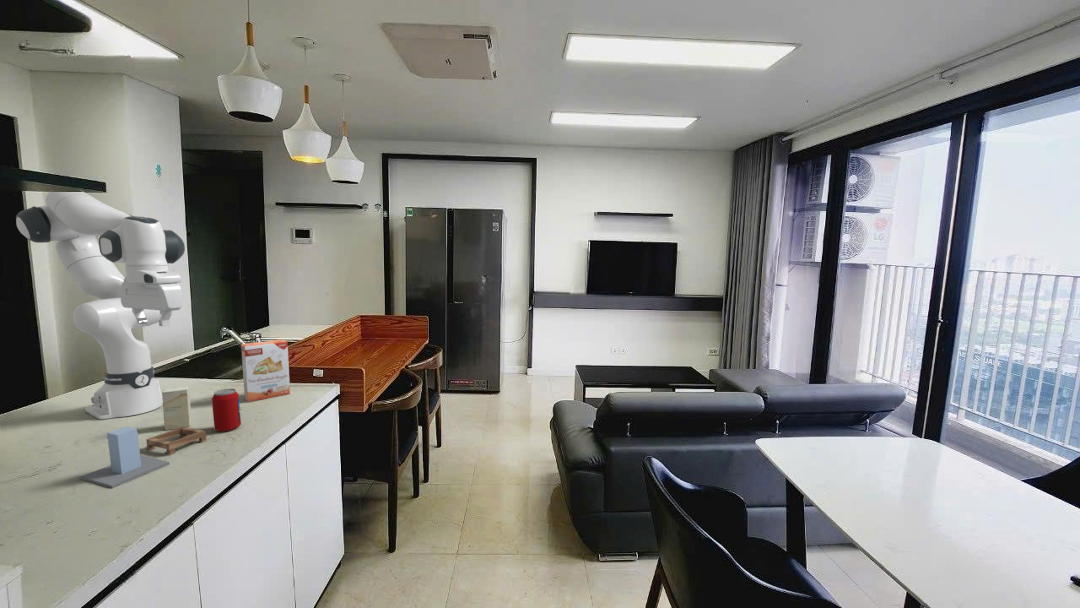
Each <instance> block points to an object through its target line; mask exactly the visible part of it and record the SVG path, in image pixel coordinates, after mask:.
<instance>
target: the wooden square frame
mask: <svg viewBox="0 0 1080 608" xmlns="http://www.w3.org/2000/svg"><path fill="white" fill-rule="evenodd" d="M206 434H207V432H206V430H202V429H198V428H197V429H196V428H193V427H184V426H183V427H180V428H177V429H171V430H169V431H166V432H164V433H160V434H157V435H155V436H152V437H149V438H146V439H145V441H146V448H147V449H146V450H147V451H152V450H154V449H156V448H160V449H163V450H164V449H165V450H166V455H168V456H172V455H174V454H175V453H176V450H175V449H176V448H179V447H181V446H184V445H185V444H188V443H191V442H194V441H196V440H198V442H199V443H204V442H207V435H206ZM176 436H179V439H176V440H173V441H167V439H170V438H173V437H176Z"/></svg>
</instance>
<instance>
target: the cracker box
mask: <svg viewBox="0 0 1080 608" xmlns="http://www.w3.org/2000/svg"><path fill="white" fill-rule="evenodd" d="M288 345H289V344H288V341H286V340H285V339H275V340H267V341H258V342H251V343H249V342H248V343H242V344H241V346H240V347H241V360H242V361H241V362H242V372H243V373H242V378H243V390H244V399H245V400H246V401H247V402H249V403H251V402H254V401H259V400H265V399H269V398H276V397H280V396H285V395H290V394H291V389H290V388H291V387H290V385H291V384H290V367H289V350H288V349H289V346H288Z"/></svg>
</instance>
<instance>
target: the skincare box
mask: <svg viewBox="0 0 1080 608" xmlns="http://www.w3.org/2000/svg"><path fill="white" fill-rule="evenodd" d="M161 395H162V399H163V403H162V409H163V422H164V423H163V424H164V425H163V426H164V430H165V431H168V430H169V431H171V430H175V429H178V428H180V427H183V426H184V427H188V428H190V426H191V424H192V412H191V410H192V409H191V408H192V407H191V395H190V386H189V385H186V386H177V387H167V388H163V390H162V391H161Z"/></svg>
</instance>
